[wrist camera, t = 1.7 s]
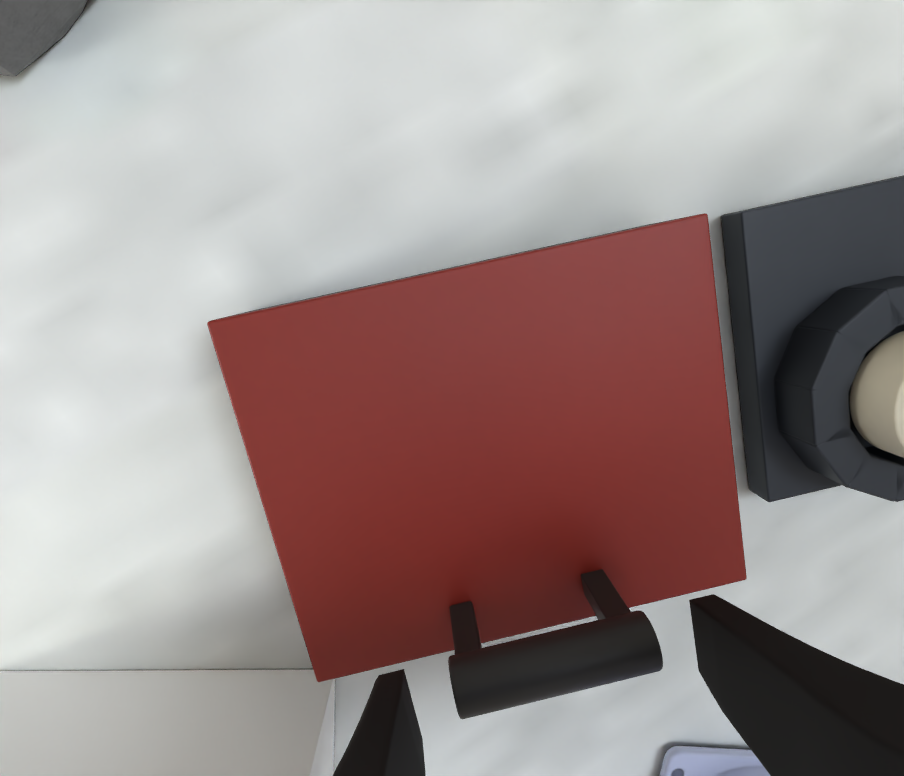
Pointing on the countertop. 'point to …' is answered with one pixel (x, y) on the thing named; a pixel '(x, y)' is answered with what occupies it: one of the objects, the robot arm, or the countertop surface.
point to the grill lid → (496, 460)
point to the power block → (814, 333)
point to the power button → (881, 396)
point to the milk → (166, 723)
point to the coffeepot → (32, 29)
